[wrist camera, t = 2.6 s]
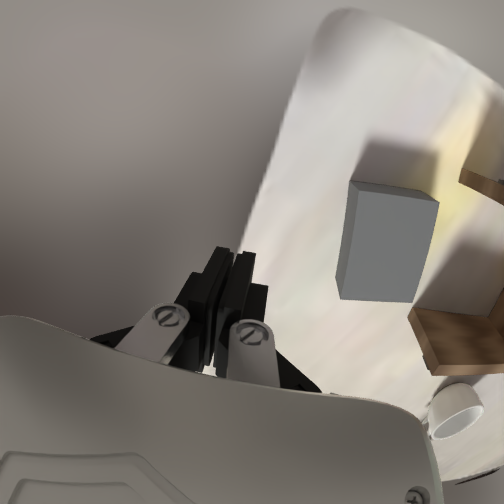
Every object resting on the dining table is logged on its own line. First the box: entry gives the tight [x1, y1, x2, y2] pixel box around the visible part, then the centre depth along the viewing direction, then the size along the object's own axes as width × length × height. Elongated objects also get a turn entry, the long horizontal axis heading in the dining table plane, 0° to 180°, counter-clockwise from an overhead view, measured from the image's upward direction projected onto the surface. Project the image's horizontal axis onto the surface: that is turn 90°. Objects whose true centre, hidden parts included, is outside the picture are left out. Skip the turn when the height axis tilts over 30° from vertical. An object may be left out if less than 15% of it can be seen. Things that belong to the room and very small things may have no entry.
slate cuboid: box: [335, 181, 440, 303], centre depth 20 cm, size 6×8×4 cm
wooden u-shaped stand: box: [407, 168, 504, 376], centre depth 17 cm, size 12×15×8 cm
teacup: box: [422, 383, 484, 440], centre depth 26 cm, size 10×8×5 cm
